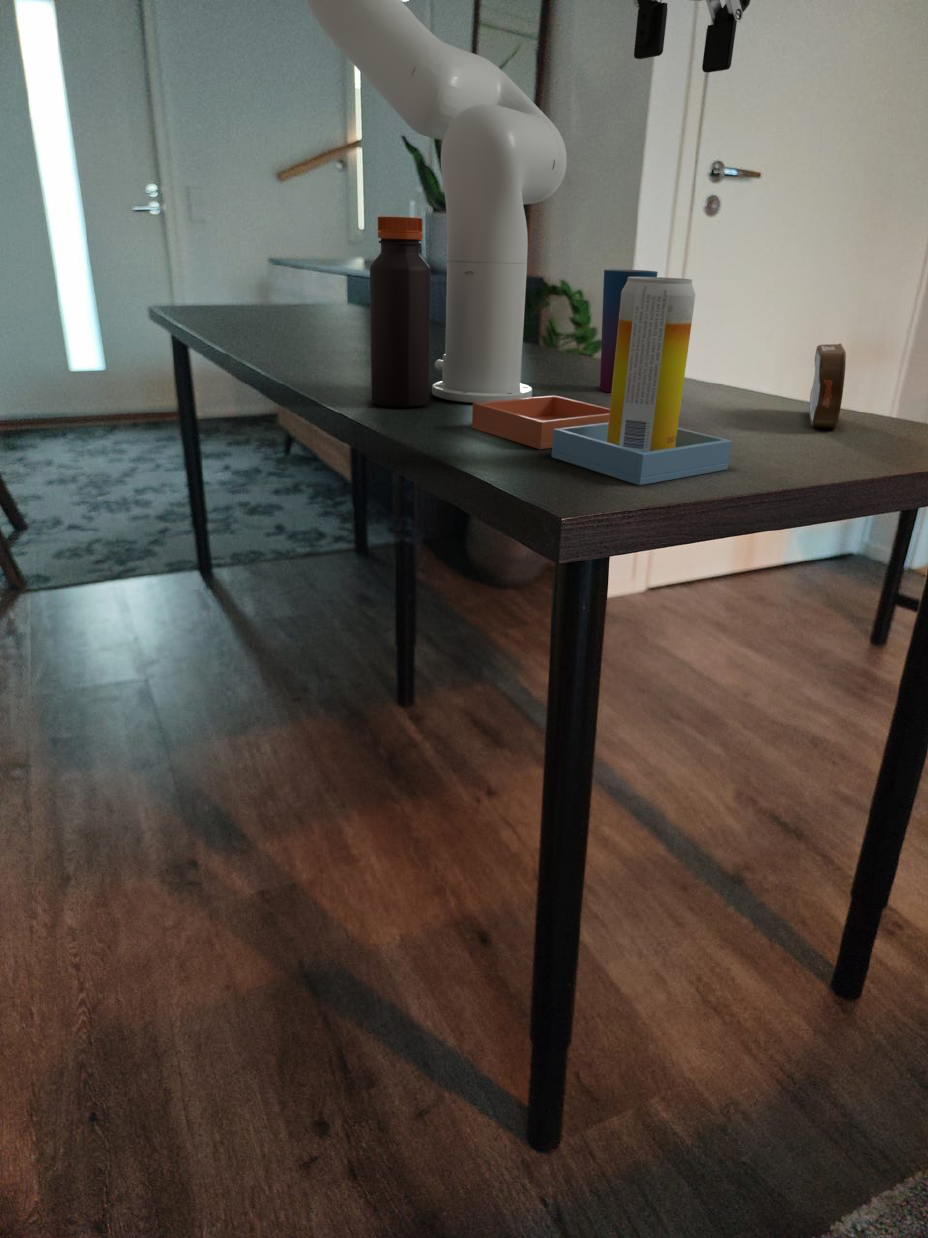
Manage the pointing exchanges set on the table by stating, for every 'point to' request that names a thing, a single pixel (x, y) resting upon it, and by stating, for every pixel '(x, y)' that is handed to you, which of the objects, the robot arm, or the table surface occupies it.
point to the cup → (613, 319)
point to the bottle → (400, 316)
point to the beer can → (650, 362)
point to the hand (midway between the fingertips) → (682, 63)
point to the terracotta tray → (534, 418)
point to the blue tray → (640, 455)
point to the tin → (827, 386)
